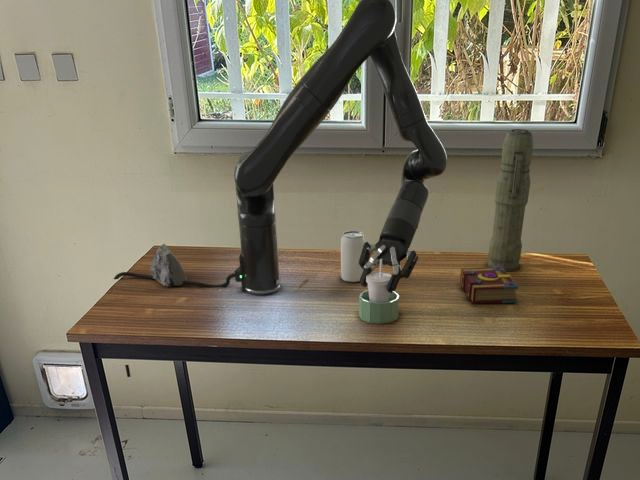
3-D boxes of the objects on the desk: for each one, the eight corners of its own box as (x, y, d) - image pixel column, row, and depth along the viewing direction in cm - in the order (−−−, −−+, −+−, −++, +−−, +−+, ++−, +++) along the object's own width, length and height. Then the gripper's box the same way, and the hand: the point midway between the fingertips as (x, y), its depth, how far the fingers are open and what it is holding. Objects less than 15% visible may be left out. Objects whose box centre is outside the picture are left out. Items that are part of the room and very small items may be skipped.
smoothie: (373, 322, 165) (374, 264, 157) (360, 313, 170) (361, 256, 162) (396, 317, 167) (398, 260, 159) (383, 308, 172) (385, 252, 164)
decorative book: (471, 305, 173) (473, 285, 171) (457, 282, 187) (459, 264, 184) (516, 303, 174) (519, 284, 171) (499, 281, 187) (501, 262, 185)
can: (364, 282, 187) (365, 237, 180) (340, 282, 187) (340, 237, 180) (364, 274, 192) (365, 230, 185) (341, 274, 192) (340, 230, 185)
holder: (356, 321, 165) (356, 301, 163) (363, 306, 173) (363, 287, 170) (395, 324, 164) (395, 304, 161) (400, 309, 171) (401, 290, 169)
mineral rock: (153, 272, 194) (147, 235, 188) (192, 271, 195) (187, 234, 189) (145, 288, 184) (138, 250, 178) (186, 287, 184) (181, 249, 179)
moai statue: (513, 258, 202) (531, 126, 182) (523, 272, 193) (543, 134, 173) (483, 259, 202) (497, 126, 182) (491, 273, 193) (507, 135, 173)
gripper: (369, 211, 164) (343, 275, 163) (424, 220, 158) (398, 286, 157) (379, 228, 171) (355, 290, 169) (432, 237, 165) (407, 301, 163)
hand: (376, 288), depth 163 cm, fingers closed on smoothie, 6 cm apart
